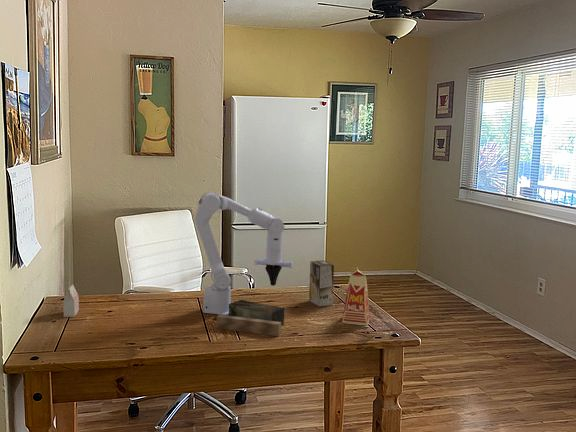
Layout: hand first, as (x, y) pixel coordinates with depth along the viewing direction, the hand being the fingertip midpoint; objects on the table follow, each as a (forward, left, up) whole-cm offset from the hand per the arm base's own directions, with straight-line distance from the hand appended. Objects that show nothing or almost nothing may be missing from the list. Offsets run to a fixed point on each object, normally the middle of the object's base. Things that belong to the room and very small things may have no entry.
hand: (273, 284), depth 219 cm
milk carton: (+32, -2, -10) cm, 33 cm away
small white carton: (-65, -32, -10) cm, 73 cm away
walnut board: (0, -26, -9) cm, 28 cm away
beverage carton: (-1, -16, -10) cm, 19 cm away
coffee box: (+15, +15, -10) cm, 23 cm away
